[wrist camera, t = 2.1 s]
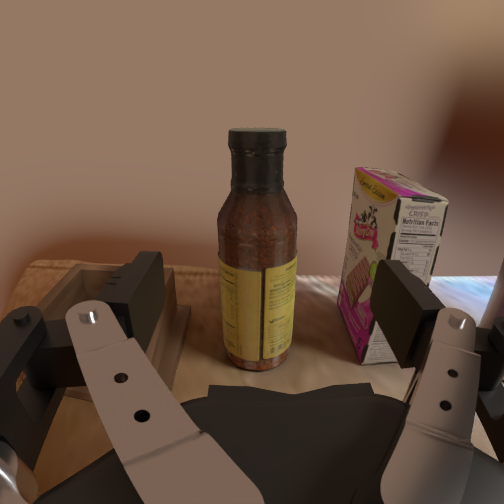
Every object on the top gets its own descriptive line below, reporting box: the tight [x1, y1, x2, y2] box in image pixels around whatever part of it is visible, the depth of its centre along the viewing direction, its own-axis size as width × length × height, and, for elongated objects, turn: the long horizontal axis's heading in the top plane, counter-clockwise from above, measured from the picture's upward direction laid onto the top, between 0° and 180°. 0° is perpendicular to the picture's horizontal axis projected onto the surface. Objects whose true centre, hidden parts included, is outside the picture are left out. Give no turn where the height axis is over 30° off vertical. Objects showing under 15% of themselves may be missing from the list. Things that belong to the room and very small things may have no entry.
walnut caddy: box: [22, 264, 191, 401], centre depth 27 cm, size 14×14×6 cm
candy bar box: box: [337, 167, 449, 365], centre depth 29 cm, size 11×5×16 cm, turn 0°
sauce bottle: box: [217, 128, 297, 371], centre depth 26 cm, size 7×6×20 cm
